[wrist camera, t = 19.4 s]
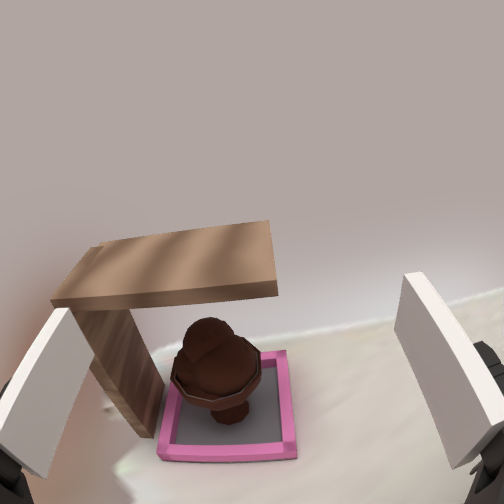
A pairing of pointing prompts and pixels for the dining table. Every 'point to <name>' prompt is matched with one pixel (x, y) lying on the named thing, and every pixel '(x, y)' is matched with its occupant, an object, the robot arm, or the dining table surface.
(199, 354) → the ice cream bowl
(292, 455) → the seat plate
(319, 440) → the dining table surface
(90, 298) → the display shelf
